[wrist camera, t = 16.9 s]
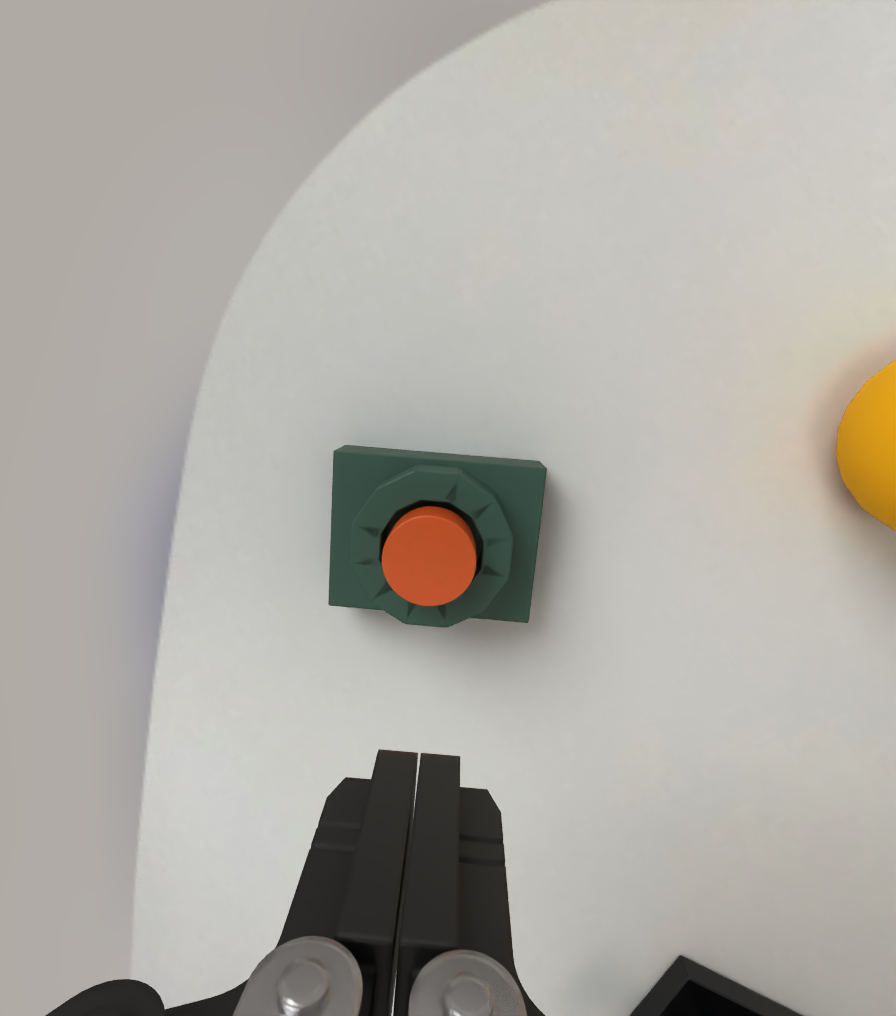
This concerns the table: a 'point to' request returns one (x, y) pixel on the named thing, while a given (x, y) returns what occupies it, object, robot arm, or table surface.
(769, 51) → the table surface
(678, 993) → the bracket
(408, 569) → the button
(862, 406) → the orange
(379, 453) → the button box
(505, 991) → the robot arm
